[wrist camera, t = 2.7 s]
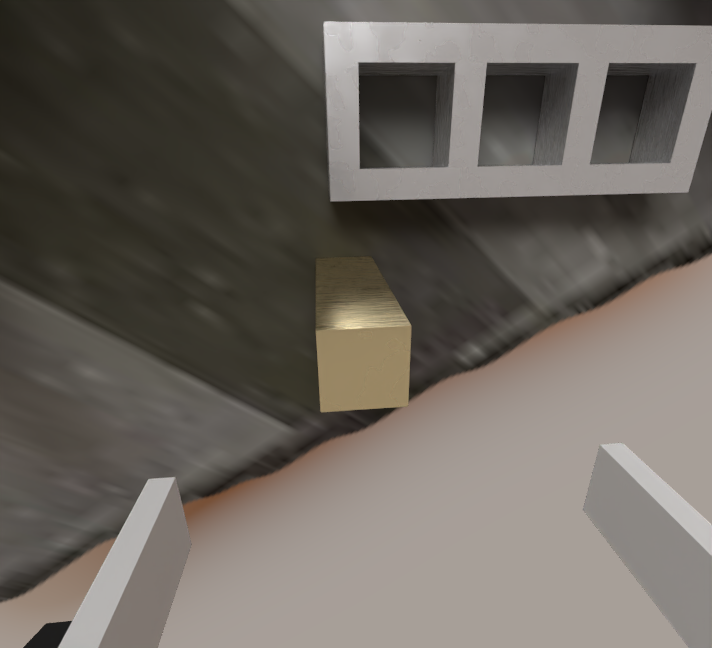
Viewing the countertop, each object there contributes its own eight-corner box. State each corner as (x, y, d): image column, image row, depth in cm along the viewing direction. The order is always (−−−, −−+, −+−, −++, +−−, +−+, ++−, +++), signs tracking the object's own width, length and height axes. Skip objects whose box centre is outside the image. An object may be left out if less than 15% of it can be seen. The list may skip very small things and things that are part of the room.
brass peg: (318, 310, 34) (320, 412, 20) (315, 258, 32) (315, 330, 18) (370, 307, 34) (408, 406, 21) (370, 256, 33) (411, 325, 19)
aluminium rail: (328, 196, 31) (330, 201, 27) (322, 41, 27) (323, 21, 23) (646, 188, 33) (688, 192, 29) (681, 43, 29) (735, 26, 25)
